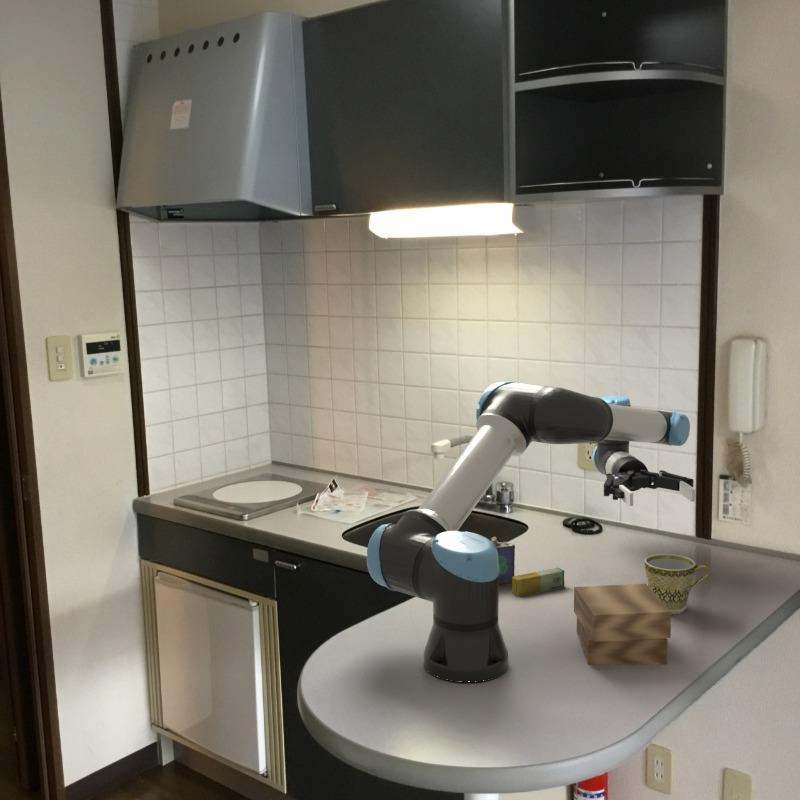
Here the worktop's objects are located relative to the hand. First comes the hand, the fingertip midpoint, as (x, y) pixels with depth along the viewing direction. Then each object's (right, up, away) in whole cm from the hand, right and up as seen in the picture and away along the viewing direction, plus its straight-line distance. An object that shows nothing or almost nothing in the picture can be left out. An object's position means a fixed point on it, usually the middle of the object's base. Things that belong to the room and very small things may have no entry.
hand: (662, 497), depth 205 cm
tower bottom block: (-14, -26, -23) cm, 38 cm away
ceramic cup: (+1, -22, -5) cm, 23 cm away
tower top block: (-14, -21, -24) cm, 35 cm away
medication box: (-25, -21, +7) cm, 33 cm away
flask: (-34, -20, +10) cm, 41 cm away
